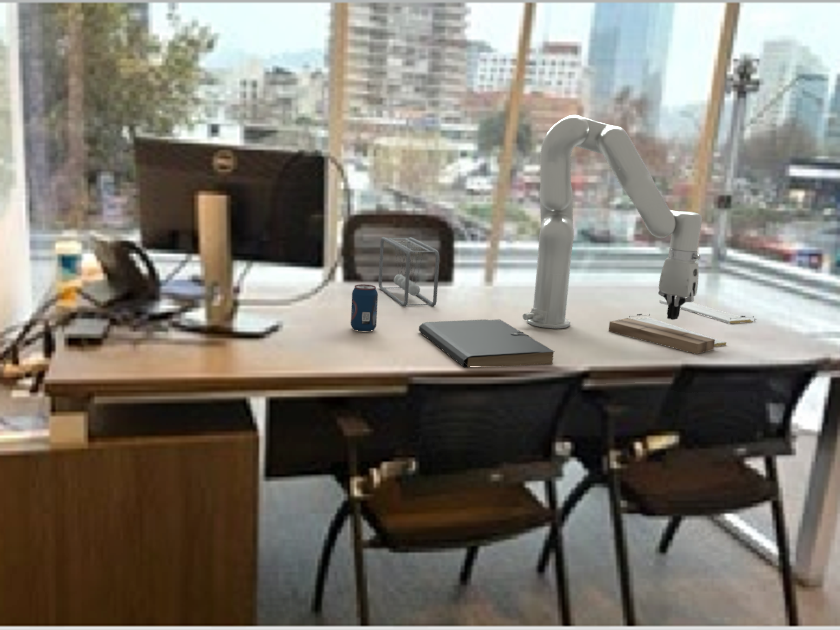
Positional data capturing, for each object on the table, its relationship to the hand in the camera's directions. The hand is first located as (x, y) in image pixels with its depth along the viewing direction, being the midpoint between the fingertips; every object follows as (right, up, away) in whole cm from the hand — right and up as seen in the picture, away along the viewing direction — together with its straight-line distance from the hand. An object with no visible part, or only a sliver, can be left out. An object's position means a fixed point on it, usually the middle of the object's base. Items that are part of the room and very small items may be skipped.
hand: (672, 318), depth 244 cm
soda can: (-88, -3, -13) cm, 89 cm away
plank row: (-5, -6, -5) cm, 10 cm away
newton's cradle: (-77, +7, +31) cm, 83 cm away
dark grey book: (-56, -8, -24) cm, 61 cm away
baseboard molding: (+22, +1, +36) cm, 42 cm away
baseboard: (+1, -5, +4) cm, 6 cm away
